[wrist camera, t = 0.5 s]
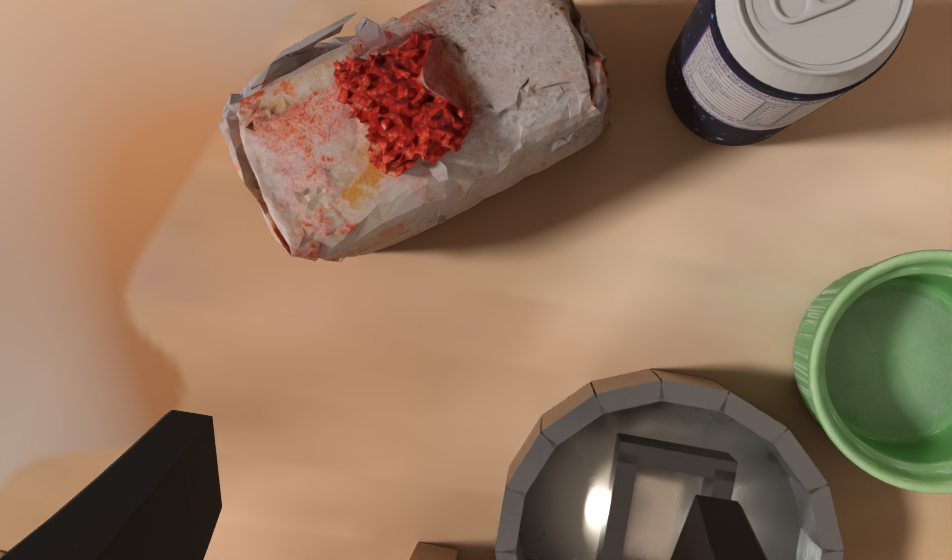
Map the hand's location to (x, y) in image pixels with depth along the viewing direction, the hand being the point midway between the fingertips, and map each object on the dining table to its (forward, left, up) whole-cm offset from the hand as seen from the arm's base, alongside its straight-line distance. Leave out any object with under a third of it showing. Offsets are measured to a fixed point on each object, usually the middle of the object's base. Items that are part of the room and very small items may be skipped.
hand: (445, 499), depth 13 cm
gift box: (+9, +5, -24) cm, 26 cm away
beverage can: (+13, -7, -24) cm, 28 cm away
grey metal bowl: (-6, -7, -24) cm, 25 cm away
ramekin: (+2, -15, -24) cm, 29 cm away
